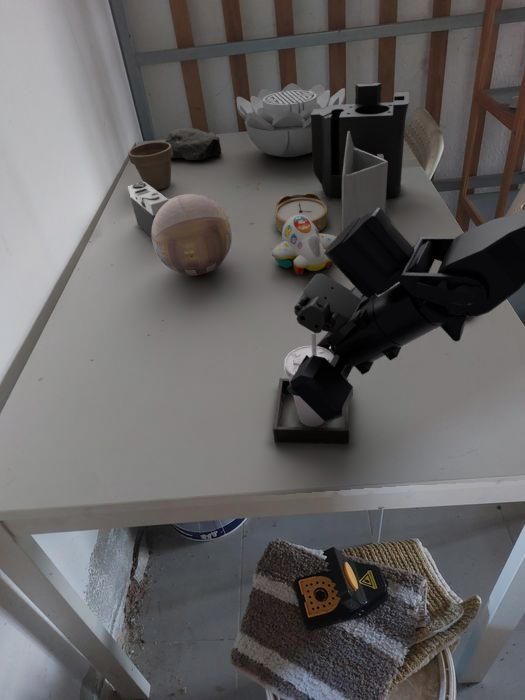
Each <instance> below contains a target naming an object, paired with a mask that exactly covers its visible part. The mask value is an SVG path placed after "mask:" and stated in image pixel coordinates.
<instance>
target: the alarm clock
mask: <svg viewBox="0 0 525 700" xmlns="http://www.w3.org/2000/svg"><path fill="white" fill-rule="evenodd" d="M327 212H328V206H327V205H326V203H324V202H323V201H322V198H321V197H320V196H319V195H318V194H317V193H315V192H307V193H305V194H303V193H297V194H292V195H282V196H281V197H279V198H278V200H277V201H276V204H275V209H274V216H275V217H274V219H275V227H276V230H278V231H279V232H280V233H282V230H283V226H284V224H285V223H286V221H287V220H288V219H289V218H290V217H292V216H294V215H304V216H306V217H307V218H309V219H310V220H311V221H312V222H313V223H314V225H315V226H316V228H317V229H318V232H319V233H320V232H321V231H322V230H323V229H325V227H326V226H327V224H328V216H327V215H328V214H327Z"/></svg>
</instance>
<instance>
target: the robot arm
mask: <svg viewBox="0 0 525 700" xmlns="http://www.w3.org/2000/svg"><path fill="white" fill-rule="evenodd" d="M336 237H337V238H336V239H335V240H334V241H333V242H332V243H331V244H330V245H329V246H328V248H327V249H326V250H325V252H324V254H325V255H326V256H327V257H328V258H329V259H330V260H331V261H330V262H331V263H332V264H333V265H334V266H335V267H336V268H337V269H338V270H339V271H340V273H341V274H343V275H344V277H345V278H346V279H347V280H348V281H349V282H350V283H351V284H352V285H353V286H354V287H352V288H351V289H349V288H348V287H346V286H344V285H343V284H341V283H340V282H338V281H336V280H334V279H332V278H330V277H329V276H327V275H326V274H323V273H316V274H315V275H313V277H312V279H310V281H308V284H307V285H306V286H305V288H304V289H303V291H302V293H301V295H300V297H299V299H298V301H297V302H296V304H295V305H294V307H293V309H294V310H293V312H294V314H295V316H296V321H297V323H298V324H299V325H300V326H301V327H304V328H306V329H307V330H309V331H311V332H314V333H316V334H321V332H327V333H326V334H325V335H324V336H323V337H322V339H320V341H319V342H318V343H316V346H319V347H323V348H325V349H327V350H329V351H330V352H332V354H333V355H334V357H333V359H332V361H331V362H330V363H329V361H328V360H327V359H326V358H324V357H319V356H315V355H313V356H311V357H310V358H309V357H308V356H307V355H306V356H305V358H304V359H303V361H302V363H301V364H300V366H299V367H298V369H297V371H296V373H295V374H294V376H293V378H292V379H291V381H290V385H289V386H288V387H287V391H288V392H289V393H290V394H289V395H291V396H293V395H295V396H299V397H300V398H301V399H302V400H303V401H305V402H306V403H307V404H308V405H309V406H310V407H311V408H312V409H313V410H314V411H315V412H316V413H317V414H318V415H319V416H320V417H321V418H322V419H323V420H324V421H325V422H324V423H331V422H333V421H335V420H337V419H340V418H342V417H343V416H344V415H345V410H346V408H347V406H348V404H349V405H350V402H351V400H352V398H353V395H354V386H353V384H351V383H350V382H349V380H348V381H347V379H349V375H350V374H351V372H352V370H353V368H355V369H356V370H357V371H358V372H359V373H360V375H365V374H367V373H369V372H370V370H371V369H372V366H373V364H374V362H375V361H378V360H379V359H381V358H383V357H384V356H385V358H387V359H388V360H389V361H392V360H394V359H397V358H398V356H399V354H400V352H401V350H402V347H404V346H406V345H407V344H410V343H411V342H414V341H415V340H417V339H420V338H421V337H423V336H425V335H426V334H428V333H430V332H433V331H434V330H437V329H438V328H439V327H440V328H441V329H442V330H443V332H445V333H446V334H447V336H448V337H449V338H451V340H452V341H453V342H459V341H460V340H461V339H462V335H463V333H464V330H465V326H466V323H467V320H468V318H467V317H469V318H476V317H477V318H478V317H481V316H483V315H486V314H488V313H490V312H492V311H493V310H495V309H496V308H498V307H499V305H502V304H503V303H504V302H505V301H506V300H508V299H509V298H510V297H511V296H513V295H514V294H516V293H517V292H518V291H519V290H521V288H522V287H523V286H524V285H525V209H523V210H520V211H518V212H516V213H514V214H509V215H506V216H501V217H497V218H494V219H490V220H489V221H486V222H484V223H482V224H480V225H478V226H476V227H473V228H471V229H468V230H467V231H465V232H462V233H461V234H459V235H458V236H419V237H418V239H417V240H416V242H415V244H414V245H412V244H411V243H410V242H409V241H408V240H407V239H406V237H405V236H404V235H403V234H402V233H401V232H400V231H399V230H398V228H396V226H395V225H394V224H393V222H392V220H391V219H390V217H389V216H388V215H387V213H386V211H385V212H384V211H383V210H382V209H381V208H377V209H375V210H374V211H373V212H372V213H371V214H370V213H368V214H366V215H365V216H363V217H362V218H360V217H359V218H357V219H356V220H355V221H354V222H353V223H351V224H350V225H349V226H348V227H347V228H346V229H345V230H344V231H343V232H342V231H341V233H339V234H338V236H336ZM435 260H436V261H439V262H441V263H440V264H439V265H440V266H439V268H438V270H437V272H436V273H435V272H430V270H431V268H432V266H433V264H434V262H435Z"/></svg>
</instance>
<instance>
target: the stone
mask: <svg viewBox="0 0 525 700" xmlns="http://www.w3.org/2000/svg"><path fill="white" fill-rule="evenodd" d="M220 141H221V140H220V137H219V136H218V135H217V134H216V133H215V132H207V131H203V130H201V129H198V128H192V127H185V128H177V129H174V130H172V131H170V132H169V133H168V134H167V137H166V138H165V142H167V143H169V144H171V146H172V152H173V156H172V157H171V160H173V159H184V160H187V161H202V160H205V159H209V158H211V157H215V156H216V157H217V156H221V155H222V147H221V145H222V144H221V143H220Z"/></svg>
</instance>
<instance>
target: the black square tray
mask: <svg viewBox="0 0 525 700" xmlns="http://www.w3.org/2000/svg"><path fill="white" fill-rule="evenodd" d="M347 381H348V382H349V378H347ZM289 385H290V381H289V378H279V381H278V388H277V395H276V402H275V403H276V404H275V412H274V418H273V425H272V433H273V441H274V443H276V444H277V443H281V444H284V443H285V444H322V445H323V444H324V445H350V403H349V404H348V406H347V408H346V410H345V412H344V427H320V426H319V427H318V426H314V427H311V426H281V423H282V414H283V406H284V398H285V395H291V394H290V393H289V392H288V391H287V387H288V386H289Z"/></svg>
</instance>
